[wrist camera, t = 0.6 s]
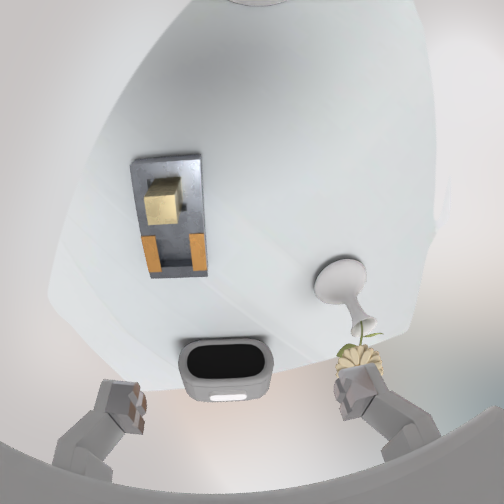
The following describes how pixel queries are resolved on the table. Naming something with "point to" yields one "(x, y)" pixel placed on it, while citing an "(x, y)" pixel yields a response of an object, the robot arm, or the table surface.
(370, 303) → the table surface
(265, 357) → the alarm clock
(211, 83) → the table surface
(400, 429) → the robot arm
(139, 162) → the rail
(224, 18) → the table surface
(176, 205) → the brass block
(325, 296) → the flower in vase
